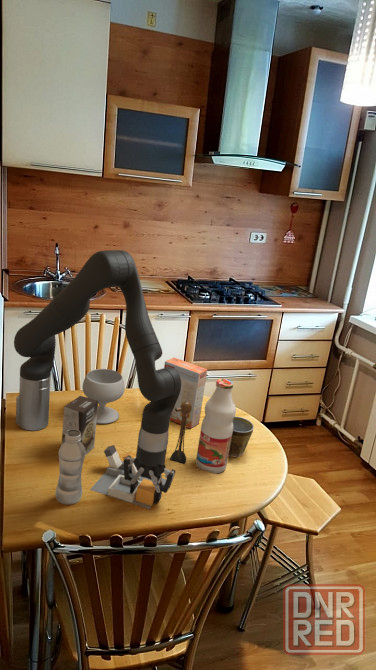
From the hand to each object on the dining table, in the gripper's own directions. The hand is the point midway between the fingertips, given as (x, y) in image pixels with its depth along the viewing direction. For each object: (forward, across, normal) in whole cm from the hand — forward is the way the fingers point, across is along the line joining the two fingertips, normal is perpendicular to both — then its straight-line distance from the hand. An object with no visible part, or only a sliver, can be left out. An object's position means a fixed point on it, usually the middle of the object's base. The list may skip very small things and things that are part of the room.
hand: (145, 497), depth 137 cm
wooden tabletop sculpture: (+1, +1, +22) cm, 22 cm away
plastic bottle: (+2, -18, -9) cm, 20 cm away
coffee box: (+2, -27, +12) cm, 29 cm away
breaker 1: (-1, -12, +7) cm, 14 cm away
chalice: (+2, -31, +35) cm, 47 cm away
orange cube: (0, 0, 0) cm, 1 cm away
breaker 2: (-1, -6, +7) cm, 9 cm away
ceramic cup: (+1, +14, +37) cm, 40 cm away
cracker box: (+2, -7, +47) cm, 48 cm away
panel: (+1, -6, +3) cm, 7 cm away
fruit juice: (+1, +11, +25) cm, 28 cm away
